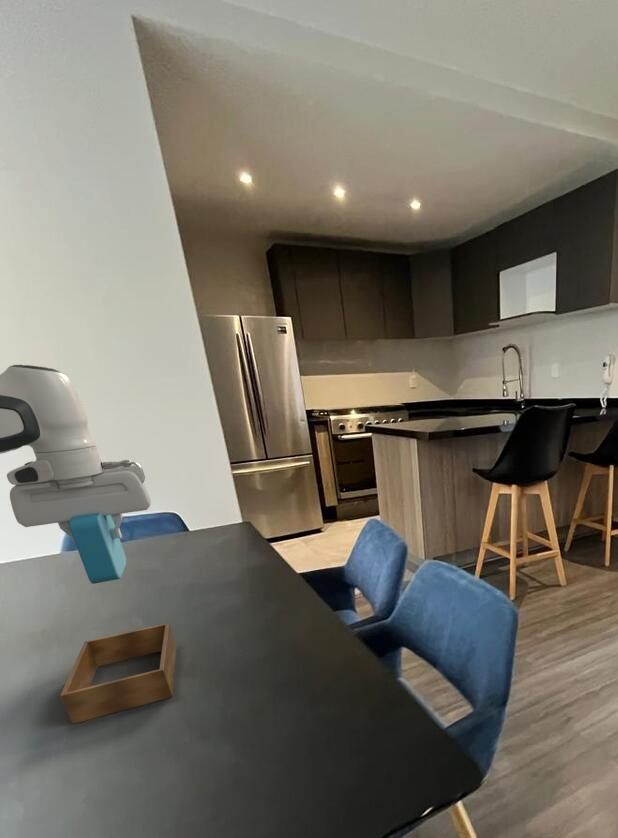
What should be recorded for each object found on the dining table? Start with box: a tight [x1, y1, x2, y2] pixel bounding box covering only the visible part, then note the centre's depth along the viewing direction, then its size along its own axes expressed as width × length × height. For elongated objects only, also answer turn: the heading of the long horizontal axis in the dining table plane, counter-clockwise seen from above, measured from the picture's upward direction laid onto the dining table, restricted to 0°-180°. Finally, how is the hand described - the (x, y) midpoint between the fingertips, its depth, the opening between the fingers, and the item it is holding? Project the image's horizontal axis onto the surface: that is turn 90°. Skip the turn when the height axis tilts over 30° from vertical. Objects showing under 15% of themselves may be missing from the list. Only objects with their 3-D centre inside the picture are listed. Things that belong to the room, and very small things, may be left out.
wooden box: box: [60, 622, 177, 725], centre depth 81 cm, size 13×18×5 cm
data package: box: [69, 513, 127, 585], centre depth 92 cm, size 12×4×12 cm, turn 26°
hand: (98, 540), depth 92 cm, fingers closed on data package, 4 cm apart
